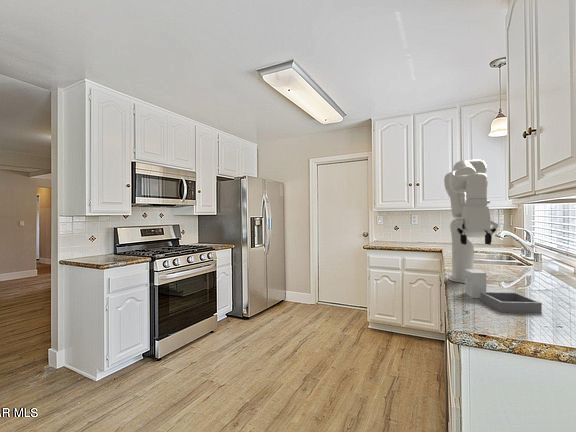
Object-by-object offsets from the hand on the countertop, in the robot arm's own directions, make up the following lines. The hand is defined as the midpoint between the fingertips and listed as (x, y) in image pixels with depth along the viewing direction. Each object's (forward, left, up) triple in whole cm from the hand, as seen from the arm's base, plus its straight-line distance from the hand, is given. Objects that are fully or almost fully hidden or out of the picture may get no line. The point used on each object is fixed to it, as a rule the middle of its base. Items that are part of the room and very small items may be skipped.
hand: (475, 244), depth 130 cm
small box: (0, 0, -22) cm, 22 cm away
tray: (+14, +5, -22) cm, 26 cm away
